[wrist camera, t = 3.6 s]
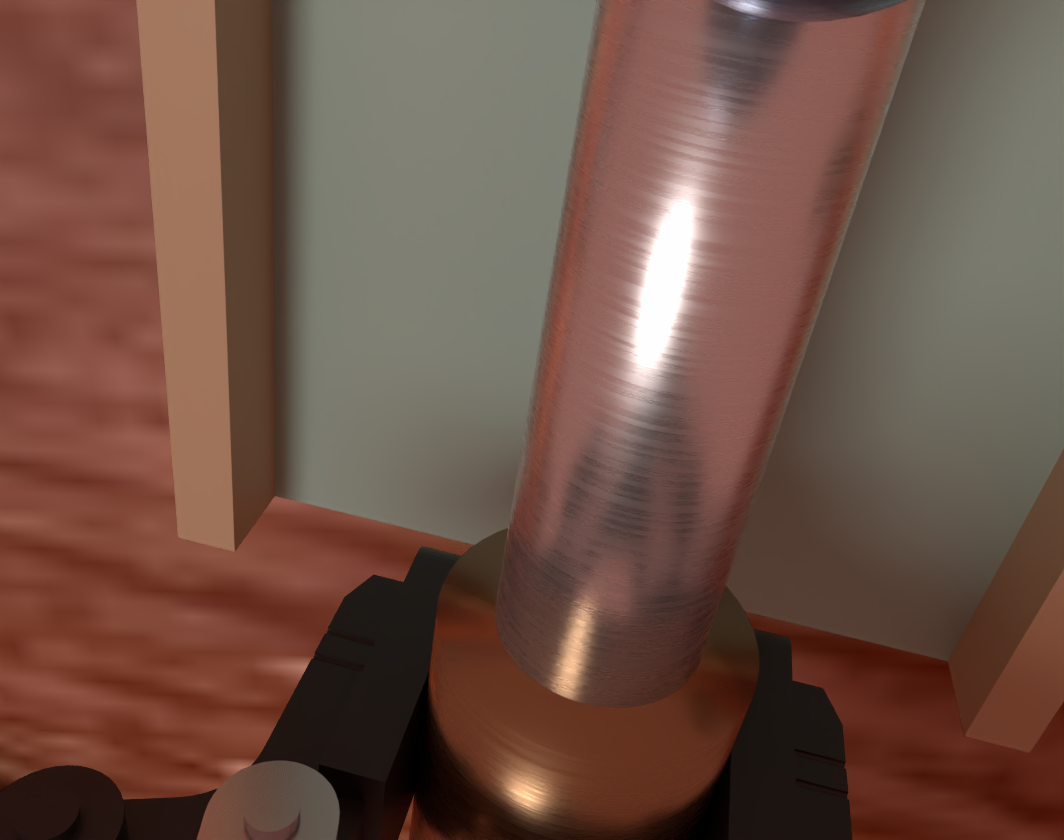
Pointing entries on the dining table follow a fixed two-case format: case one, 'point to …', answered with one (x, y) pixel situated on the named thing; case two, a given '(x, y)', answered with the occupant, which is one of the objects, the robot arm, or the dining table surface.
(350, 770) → the robot arm
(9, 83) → the dining table surface
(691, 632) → the rod
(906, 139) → the pitch board
